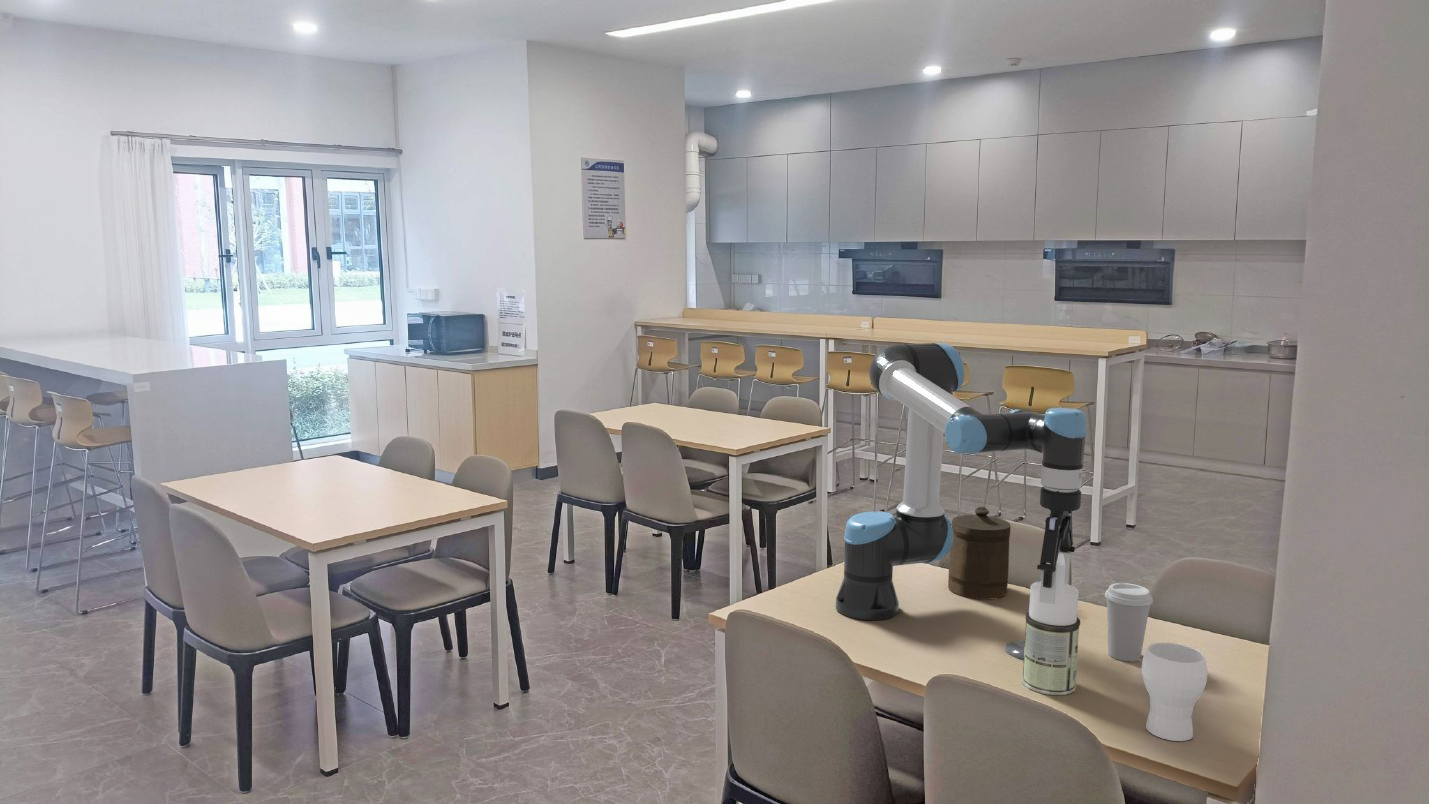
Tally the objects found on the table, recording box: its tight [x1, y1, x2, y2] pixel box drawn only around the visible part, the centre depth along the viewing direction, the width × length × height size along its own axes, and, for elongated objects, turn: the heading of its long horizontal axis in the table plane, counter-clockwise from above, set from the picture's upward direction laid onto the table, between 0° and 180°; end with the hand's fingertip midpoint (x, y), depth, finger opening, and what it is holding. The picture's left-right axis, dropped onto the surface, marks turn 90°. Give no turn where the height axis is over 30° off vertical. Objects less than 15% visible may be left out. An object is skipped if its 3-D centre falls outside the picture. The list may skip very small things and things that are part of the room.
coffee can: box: [1021, 611, 1081, 696], centre depth 195 cm, size 10×10×14 cm
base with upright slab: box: [1028, 553, 1080, 626], centre depth 193 cm, size 9×9×12 cm
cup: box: [1141, 642, 1208, 742], centre depth 176 cm, size 11×11×15 cm
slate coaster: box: [1005, 640, 1025, 661], centre depth 212 cm, size 10×10×1 cm
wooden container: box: [947, 506, 1011, 600], centre depth 251 cm, size 15×15×22 cm
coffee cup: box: [1104, 582, 1154, 663], centre depth 210 cm, size 10×10×15 cm
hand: (1054, 592), depth 193 cm, fingers open, 13 cm apart
